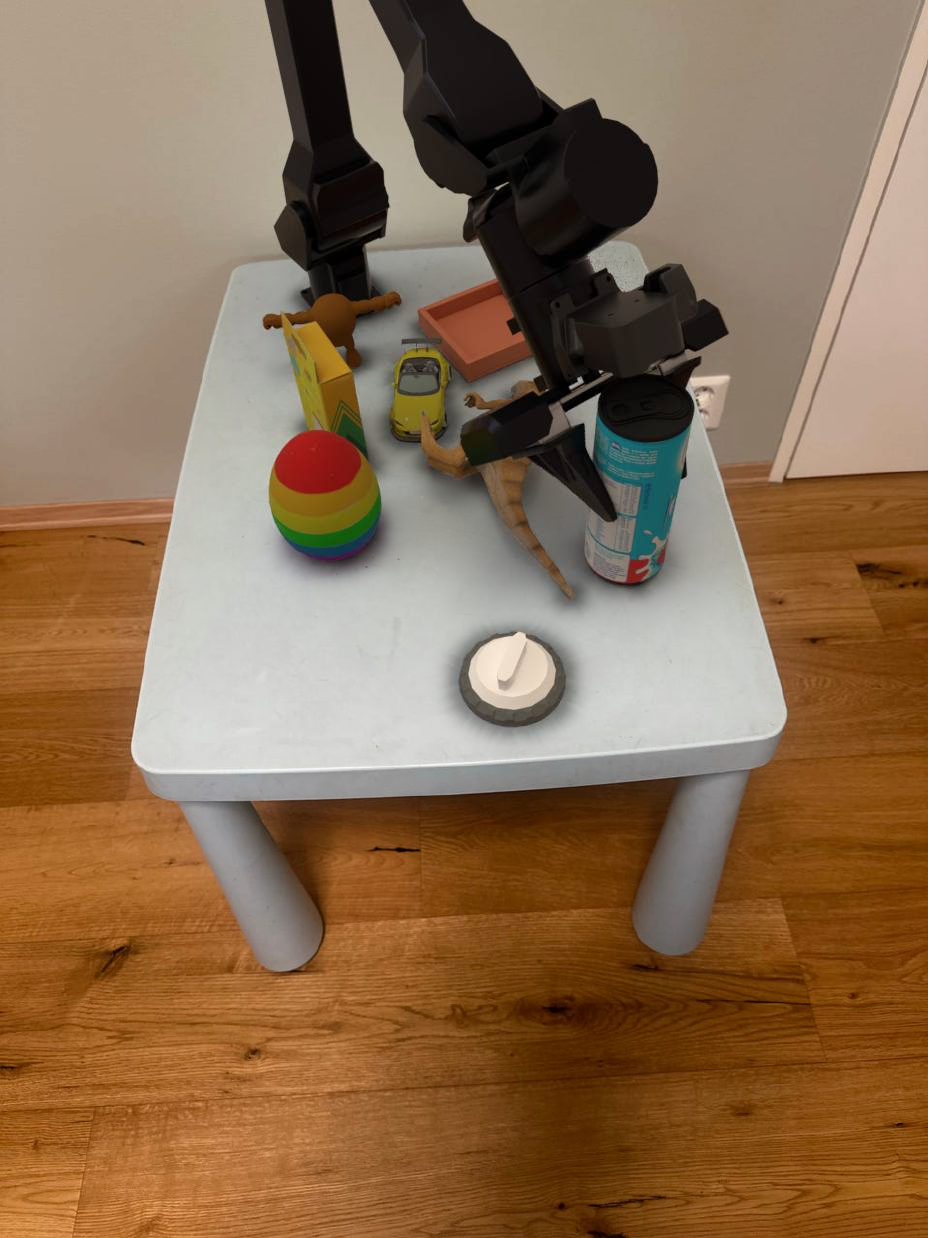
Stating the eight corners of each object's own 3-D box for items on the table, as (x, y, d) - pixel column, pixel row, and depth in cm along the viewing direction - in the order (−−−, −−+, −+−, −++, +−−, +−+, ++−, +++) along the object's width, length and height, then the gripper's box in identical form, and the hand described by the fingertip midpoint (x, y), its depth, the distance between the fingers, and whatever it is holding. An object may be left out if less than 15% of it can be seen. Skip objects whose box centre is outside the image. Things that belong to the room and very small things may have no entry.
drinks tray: (419, 327, 87) (417, 308, 85) (503, 293, 89) (503, 274, 87) (468, 382, 82) (467, 364, 80) (556, 344, 84) (557, 326, 82)
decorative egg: (286, 584, 70) (254, 492, 62) (278, 505, 74) (248, 410, 66) (393, 564, 70) (376, 471, 62) (379, 487, 75) (361, 391, 67)
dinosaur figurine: (437, 391, 81) (573, 394, 80) (411, 596, 69) (572, 602, 68) (433, 327, 76) (579, 330, 75) (403, 537, 63) (579, 543, 62)
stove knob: (442, 707, 63) (440, 684, 60) (481, 624, 67) (479, 599, 64) (546, 739, 61) (547, 717, 59) (579, 652, 65) (581, 628, 63)
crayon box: (372, 467, 76) (350, 352, 67) (338, 480, 76) (312, 366, 66) (337, 413, 80) (312, 297, 71) (305, 426, 80) (276, 310, 70)
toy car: (387, 442, 78) (382, 415, 75) (396, 364, 84) (392, 336, 81) (447, 442, 78) (444, 414, 75) (452, 363, 83) (450, 335, 81)
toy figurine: (404, 338, 86) (395, 273, 80) (411, 363, 84) (403, 298, 78) (275, 361, 85) (257, 297, 79) (279, 388, 83) (261, 324, 77)
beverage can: (668, 588, 68) (701, 437, 55) (586, 590, 68) (601, 440, 56) (659, 526, 71) (688, 371, 59) (581, 528, 71) (594, 374, 59)
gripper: (478, 304, 49) (602, 566, 52) (735, 178, 54) (831, 421, 58) (410, 351, 59) (517, 567, 63) (632, 240, 65) (719, 444, 68)
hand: (646, 499), depth 63 cm, fingers closed on beverage can, 6 cm apart
